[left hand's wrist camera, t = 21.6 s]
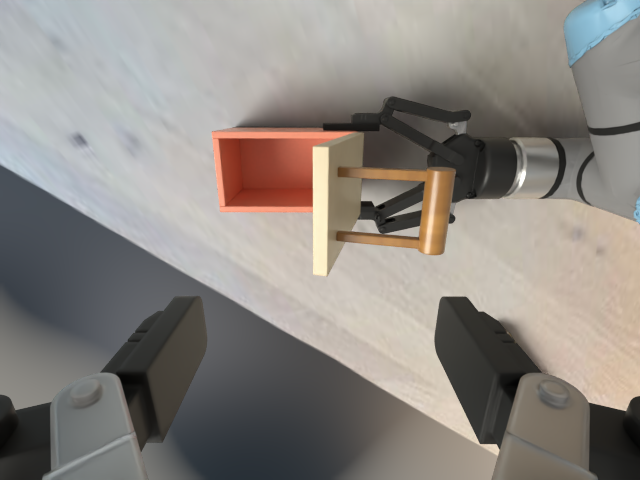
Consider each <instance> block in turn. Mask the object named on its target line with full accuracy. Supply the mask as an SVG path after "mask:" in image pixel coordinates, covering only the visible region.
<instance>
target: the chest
mask: <svg viewBox="0 0 640 480" xmlns="http://www.w3.org/2000/svg"><path fill="white" fill-rule="evenodd" d="M354 132H357V131H323V128H292V127H234V128H229V129H223V130H218V131H212V138H213V148H214V157H215V167H216V176H217V186H218V195H219V205H220V212H313V146H315V145H318V144H321V143H324V142H327V141H330V140H333V139H336V138H339V137H342V136H345V135H348V134H351V133H354Z"/></svg>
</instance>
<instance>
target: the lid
mask: <svg viewBox="0 0 640 480" xmlns="http://www.w3.org/2000/svg"><path fill="white" fill-rule="evenodd" d="M363 144H364V133H363V132H354V133H351V134H348V135H345V136H342V137H339V138H336V139H333V140H330V141H327V142H324V143H321V144H318V145H315V146H313V274H314V275H320V276H328V274H329V272H330V270H331V268H332V267H333V265H334V263H335V261H336V259H337V257H338V255H339V253H340V251H341V249H342V248H343V246H344V244H345V242H353V243H363V244H374V245H384V246H395V247H406V248H416V249H418V251H420V252H421V253H424V254H428V255H441V254H443V253H444V250H445V243H446V236H447V229H448V222H449V215H450V208H451V202H452V195H453V188H454V181H455V174H456V170H455V169H453V168H448V167H429V168H427V169H426V170H420V169H396V168H371V167H362V165H363ZM362 178H367V179H388V180H408V181H425V187H424V195H423V204H422V213H421V222H420V231H419V237H408V236H397V235H385V234H374V233H362V232H351V230H352V229H353V227H354V225H355V223H356V221H357V219H358V217H359V215H360V208H361V187H362Z"/></svg>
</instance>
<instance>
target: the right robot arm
mask: <svg viewBox="0 0 640 480" xmlns="http://www.w3.org/2000/svg"><path fill="white" fill-rule="evenodd" d="M564 34H565V40H566V46H567V52H568V59H569V66H570V68H572V72H573V75H574V79H575V82H576V86H577V90H578V93H579V97H580V100H581V104H582V107H583V111H584V114H585V118H586V121H587V126H588V130H589V134H590V138H538V137H513V138H509V139H507V138H505V137H471V136H470V135H468V134H466V129H467V121H468V120H469V119H470V117H471V113H470V111H468V110H456V111H446V110H442V109H438V108H435V107H431V106H427V105H423V104H419V103H416V102H412V101H408V100H404V99H401V98H397V97H388V98H386V99H385V100H384V103H383V106H382V109H381V110H380V112H378V113H355V114H353V115H351V123H323V131H379V125H380V124H381V125H383V126H385V127H387V128H388V129H390V130H392V131H394V132H396V133H397V134H399V135H401V136H403V137H405V138H406V139H408V140H410V141H412V142H413V143H415V144H417V145H419V146H421V147H422V148H424V149H425V150H427V151H429V152H431V153H430V155H428V159H427V163H428V168H429V167H448V168H453V169H455V170H456V174H455V181H454V188H453V195H452V202H451V208H450V215H449V222H448V223H449V224H450V223H453V222H454V221H455V216H454V215H453V212H454V208H455V204H456V203H457V202H459V201H461V200H464V199H499V198H501V197H502V198H504V199H570V200H575V201H578V202H581V203H584V204H587V205H590V206H593V207H597V208H599V209H602V210H605V211H608V212H611V213H613V214H616V215H619V216H622V217H625V218H627V219H630V220H633V221H636V222H638V223H639V224H640V0H587V1H585V2H583V3H582V4H580V5H579V6H577V7H576V8H575V9H574V10H572V11H571V12H570V14H569V15H568V16H567V18H566V20H565V23H564ZM394 110H396V111H400V112H404V113H408V114H411V115H415V116H419V117H423V118H427V119H430V120H434V121H439V122H447V127H448V128H449V129H453V130H454V131H455V135H453V136H452V137H450V138H449V139H447V140H446V141H444V142H443V143H441V144H440V143H439V142H437V141H435V140H433V139H431V138H429V137H427V136H426V135H424V134H422V133H420V132H419V131H417V130H415V129H413V128H412V127H410V126H408V125H406V124H404V123H403V122H401V121H399V120H397V119H396V118H394V117H392V114H393V111H394ZM424 187H425V182H423V183H421V184H419V185H418V186H417V187H415V188H413V189H411V190H409V191H407V192H405V193H403V194H401V195H399V196H397V197H395V198H392V199H390V200H388V201H386V202H384V203H382V204H380V205H378V206H376V207H375V206H374V205H373V203H372V201H361V208H360V215H359V217H358V219H359V220H360V219H361V220H374V221H375V223H376V226H377V228H378V230H379V232H380V233H382V234H385V233H389V232H394V231H399V230H403V229H408V228H412V227H417V226H420V222H421V213H422V210H420V211H416V212H411V213H407V214H402V215H398V216H393V217H389V216H391V215H393V214H395V213H397V212H399V211H402V210H404V209H406V208H408V207H410V206H412V205H414V204H416V203H418V202H421V201H423V195H424ZM387 217H389V218H387Z"/></svg>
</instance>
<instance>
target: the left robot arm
mask: <svg viewBox="0 0 640 480" xmlns="http://www.w3.org/2000/svg"><path fill="white" fill-rule="evenodd" d="M206 347H207V332H206V324H205V317H204V310H203V303H202V299H201V297H199V296H176V297H175V298H174V299H173V300H172V301H171V302H170V304H169V305H168V306H167V307H166V309H165V310H164V311H158V312H156V313H155V314H153V315H152V316H150V317H149V318H147V319H145V320H144V321H143V322H142V324H141V325H140V326H139V327H138V328H137V330H136V331H135V333H133V334H132V335H131V337H130V338H129V339H128V342H126V343H125V344H124V345H123V346H122V347H121V348H120V350H119V351H118V352H117V353H116V354H115V356H114V357H113V358H112V359H111V360H110V361H109V363H108V364H107V365H106V366H105V368H104V369H103V370H102V371H101V372H100V373H96V374H92V375H88V376H85V377H83V378H80V379H78V380H76V381H74V382H72V383H71V384H69V385H68V386H66V387H65V388H64V389H62V390H61V391H60V392H59V393H58V394H57V395H56V396H55V398H54V399H53V401H52V402H50V403H46V404H41V405H37V406H32V407H28V408H24V409H20V410H15V408H14V406H13V404H12V401H11V399H10V398H9V397H7V396H4V395H0V480H148V477H147V473H146V469H145V466H144V462H143V459H142V455H141V451H142V449H143V447H144V446H145V444H146V443H162V442H163V440H164V438H165V436H166V434H167V432H168V430H169V428H170V425H171V423H172V421H173V419H174V417H175V415H176V413H177V411H178V409H179V407H180V405H181V403H182V400H183V398H184V396H185V394H186V392H187V390H188V388H189V386H190V384H191V382H192V380H193V377H194V375H195V373H196V371H197V369H198V367H199V365H200V363H201V361H202V359H203V356H204V354H205V351H206ZM435 349H436V353H437V355H438V358H439V360H440V362H441V364H442V366H443V368H444V370H445V372H446V374H447V376H448V378H449V380H450V382H451V385H452V387H453V389H454V391H455V393H456V395H457V397H458V399H459V401H460V403H461V405H462V407H463V409H464V412H465V414H466V416H467V418H468V420H469V422H470V424H471V426H472V428H473V430H474V432H475V434H476V436H477V438H478V441H479V443H480V444H497V445H498V447H499V449H500V451H499V455H498V458H497V462H496V466H495V469H494V473H493V476H492V480H640V396H638V397H635V398H633V399H632V400H631V401H630V404H629V406H628V408H627V411H622V410H618V409H614V408H609V407H605V406H601V405H596V404H592V403H589V402H588V401H587V399H586V398H585V396H584V395H583V394H582V393H581V392H580V391H579V390H578V389H577V388H575V387H574V386H572V385H571V384H569V383H568V382H566V381H564V380H562V379H560V378H557V377H555V376H552V375H548V374H544V373H542V372H541V371H540V370H539V369H538V367H537V366H536V365H535V364H534V363H533V362H532V360H531V359H530V358H529V357H528V356H527V355H526V353H525V352H524V351H523V350H522V349H521V348H520V346H519V345H518V344H517V343H515V340H514V339H513V338H512V337H511V336H510V335H509V334H507V331H506V330H505V329H504V328H503V326H502V325H501V324H500V323H499V322H498V321H497V320H496V319H494V318H493V317H491V316H490V315H488V314H486V313H485V312H478V310H477V309H476V308H475V307H474V305H473V304H472V303H471V302H470V300H469V299H468V298H467V297H442V298H441V299H440V303H439V309H438V316H437V323H436V330H435Z"/></svg>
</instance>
